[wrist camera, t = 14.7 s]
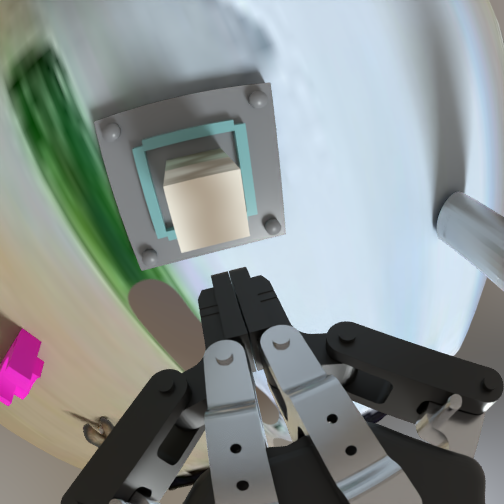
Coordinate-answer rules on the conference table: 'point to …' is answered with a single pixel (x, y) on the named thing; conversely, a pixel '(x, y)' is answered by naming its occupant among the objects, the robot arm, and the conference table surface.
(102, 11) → the conference table surface
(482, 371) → the robot arm
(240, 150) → the baseplate
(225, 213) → the beige block
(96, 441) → the eagle figurine
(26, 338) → the toy block
